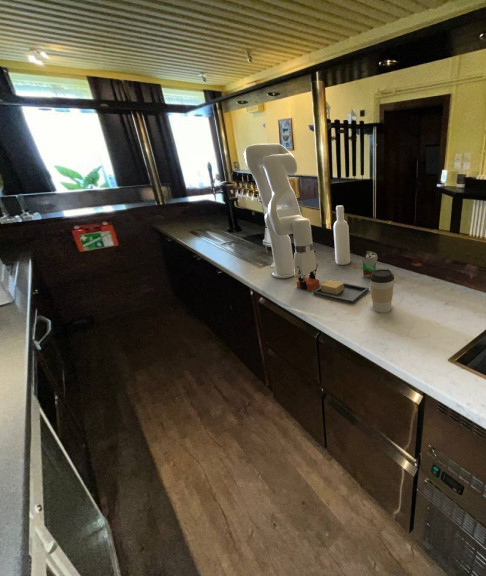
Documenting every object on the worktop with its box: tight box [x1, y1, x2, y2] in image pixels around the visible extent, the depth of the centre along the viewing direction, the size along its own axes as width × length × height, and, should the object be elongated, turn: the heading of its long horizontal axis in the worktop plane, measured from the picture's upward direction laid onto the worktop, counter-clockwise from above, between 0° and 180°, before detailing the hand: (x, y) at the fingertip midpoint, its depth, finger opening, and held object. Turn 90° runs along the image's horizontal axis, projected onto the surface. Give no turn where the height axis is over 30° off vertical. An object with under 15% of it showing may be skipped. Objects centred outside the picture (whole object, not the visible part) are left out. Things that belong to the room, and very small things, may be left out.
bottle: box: [332, 205, 351, 266], centre depth 157 cm, size 8×8×30 cm
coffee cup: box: [369, 268, 395, 313], centre depth 112 cm, size 9×9×15 cm
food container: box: [362, 250, 379, 278], centre depth 144 cm, size 12×6×10 cm, turn 168°
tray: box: [313, 279, 370, 305], centre depth 128 cm, size 19×14×2 cm
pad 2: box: [320, 279, 345, 295], centre depth 130 cm, size 8×6×3 cm
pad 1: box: [296, 276, 320, 291], centre depth 135 cm, size 8×6×3 cm
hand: (308, 285), depth 135 cm, fingers closed on pad 1, 6 cm apart
